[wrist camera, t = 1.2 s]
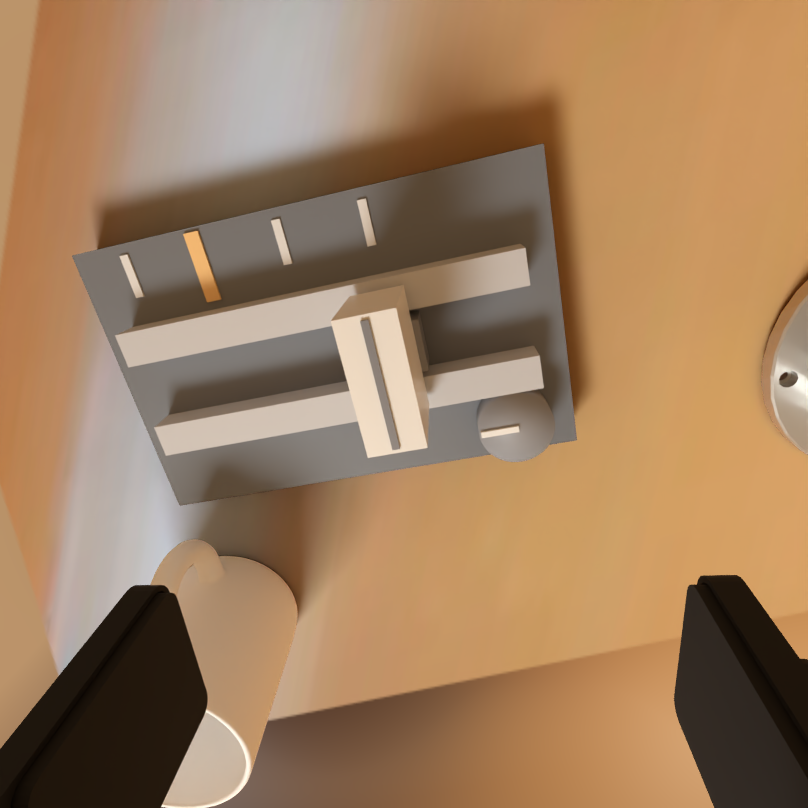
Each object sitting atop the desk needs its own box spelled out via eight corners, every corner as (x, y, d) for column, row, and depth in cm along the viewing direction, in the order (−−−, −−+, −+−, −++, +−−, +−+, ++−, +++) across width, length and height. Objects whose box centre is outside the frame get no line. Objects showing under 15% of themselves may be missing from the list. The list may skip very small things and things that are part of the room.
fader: (412, 276, 25) (404, 306, 19) (435, 388, 27) (435, 447, 21) (349, 289, 25) (321, 323, 19) (376, 399, 27) (360, 460, 21)
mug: (147, 502, 33) (30, 632, 24) (280, 496, 32) (214, 628, 23) (192, 650, 38) (109, 809, 28) (309, 648, 37) (265, 810, 27)
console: (535, 146, 24) (551, 140, 21) (568, 423, 30) (585, 456, 26) (96, 250, 27) (47, 260, 24) (194, 487, 32) (165, 523, 29)
